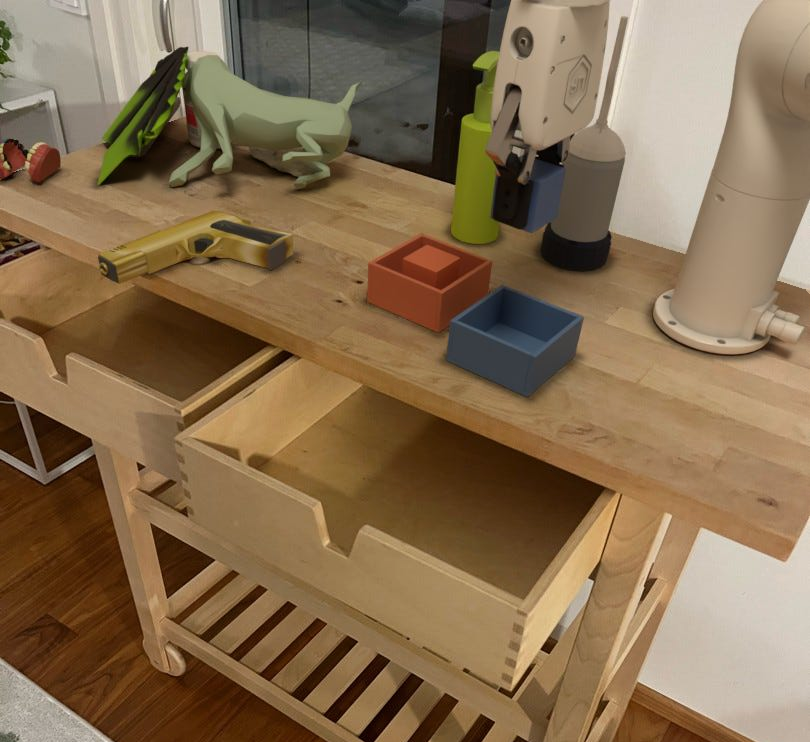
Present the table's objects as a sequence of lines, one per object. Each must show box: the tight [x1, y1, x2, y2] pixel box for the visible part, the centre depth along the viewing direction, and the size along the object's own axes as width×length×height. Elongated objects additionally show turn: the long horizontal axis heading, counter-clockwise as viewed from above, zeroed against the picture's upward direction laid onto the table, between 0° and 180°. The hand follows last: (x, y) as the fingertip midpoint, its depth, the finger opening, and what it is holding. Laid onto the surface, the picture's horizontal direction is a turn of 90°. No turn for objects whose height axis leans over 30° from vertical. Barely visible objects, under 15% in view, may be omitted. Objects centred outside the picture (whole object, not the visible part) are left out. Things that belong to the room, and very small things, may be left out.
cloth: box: [97, 46, 189, 187], centre depth 109 cm, size 20×22×2 cm
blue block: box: [490, 154, 566, 234], centre depth 73 cm, size 4×4×4 cm
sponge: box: [248, 147, 323, 178], centre depth 114 cm, size 12×5×4 cm
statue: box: [168, 54, 363, 190], centre depth 109 cm, size 27×13×20 cm
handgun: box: [97, 210, 295, 285], centre depth 92 cm, size 2×19×12 cm
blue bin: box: [445, 284, 585, 398], centre depth 82 cm, size 10×10×4 cm
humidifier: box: [539, 15, 629, 272], centre depth 91 cm, size 8×8×25 cm
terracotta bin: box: [366, 233, 494, 334], centre depth 89 cm, size 10×10×4 cm
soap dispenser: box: [450, 50, 500, 245], centre depth 95 cm, size 6×7×20 cm
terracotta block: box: [402, 245, 460, 290], centre depth 89 cm, size 4×4×4 cm
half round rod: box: [129, 96, 182, 158], centre depth 119 cm, size 4×20×2 cm, turn 179°
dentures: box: [0, 137, 62, 183], centre depth 106 cm, size 6×4×8 cm
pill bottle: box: [181, 50, 233, 150], centre depth 114 cm, size 6×6×11 cm
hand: (524, 212), depth 74 cm, fingers closed on blue block, 4 cm apart
